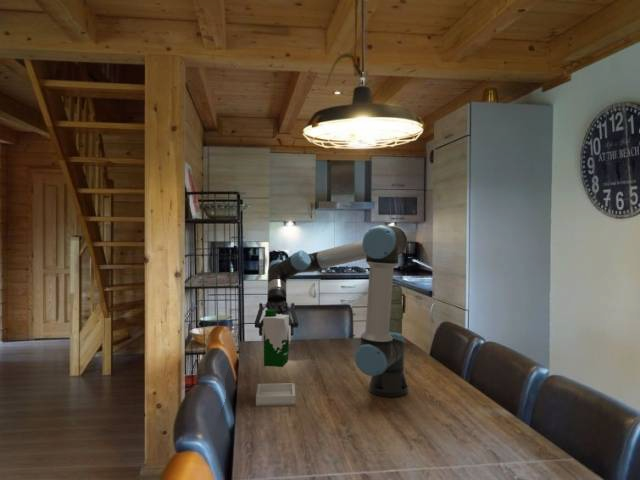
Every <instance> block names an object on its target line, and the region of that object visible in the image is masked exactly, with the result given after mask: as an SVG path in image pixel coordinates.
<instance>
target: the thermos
mask: <svg viewBox="0 0 640 480" xmlns="http://www.w3.org/2000/svg"><path fill="white" fill-rule="evenodd" d="M406 298H407V296H406V294H405V293H403V289H402V286H401V285H399V284H392V296H391V310H390V324H389V332H394V333H400V334H402V335H403V319H404V314H405V313H406V308H407V307H406V305H407V304H406V301H407V300H406Z"/></svg>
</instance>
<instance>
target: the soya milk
mask: <svg viewBox="0 0 640 480" xmlns="http://www.w3.org/2000/svg"><path fill="white" fill-rule="evenodd" d="M264 311H265V313H264V316H263V317H262V319H263V325H264V345H263V366H264V367H276V368H283V367H284V366H285V365H286V364H287V363H288V362H289V353H290V348H289V347H290V346H289V345H290V344H289V317H290V315H289V314H288V315H283V314H276V310H273V309H270V310H268V309H264Z"/></svg>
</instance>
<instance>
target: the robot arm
mask: <svg viewBox="0 0 640 480" xmlns="http://www.w3.org/2000/svg"><path fill="white" fill-rule="evenodd" d="M407 246H408V237H407V235H406V232H405V231H403V229H401V228H399V227H397V226H394V225H393V226H392V225H380V224H378V225H375V226H373V227H371V228H369V229H368V230H367V231H366V232H365V234H364V235H363V238H362V240H358V241H354V242H350V243H347V244H342V245H338V246H334V247H331V248H327V249H324V250H323V249H322V250H319V251H316V252H312V253H307V252H306V251H304V250H301V249H300V250H298V251H297V252H294V253H293V254H291V255H290V256H289V257H287V258H285V259H283V260H282V259H276V260H275V259H274V260H272V261H271V262H270V263H269V265H268V270H267V301H266V303H264V304H263V303H262V302H260V303H259V305H258V311H257V315H256V318H255V320H254V328H256V329H257V328H258V335H259V337H261V345H263V346H264V325H263V318H262V315H263V312H264V311H265V310H270V309H273V310H276V314H283V315H289V314H288V312H287V311H286V309H288V310H289V311H290V314H291V317H292V319H291V317H290V316H289V345H291V344H292V343H291V340H292V339H291V337H293V336H294V334H295V333H294V332H295V328H299V320H298V317H297V314H296V309H295V303H294V302H291V303H288V301H287V280H289V279H291V278H293V277H294V276H296V275H297V274H298V275H299V274H301V273H308V272H309V273H310V272H318V271H320V270H323V269H327V268H331V267H336V266H340V265H343V264H348V263H353V262H356V261H361V260H365V262H366V264H367V265H368V266H369V272H368V273H369V276H368V288H367V289H368V291H367V304H366V316H365V317H366V319H365V331H363V332H362V333H361V335H360V343H359V344H360V345H359V347H358V348H357V349H356V351H355V354H354V362H355V364H356V367H357V368H358V369H359V370H360V372H362V373H363V374H365V375H366V376H369V377H370V380H369V385H368V388H369V389H368V391H369V392H370V393H371V394H373V395H375V396H379V397H386V398H398V397H399V398H400V397H403V396H407V395H408V393H409V385H408V382H407V378H406V376H405V371H404V368H405V366H404V365H405V337H404V335H403V333H402V334H400V333H394V332H389V324H390V310H391V296H392V285H393V281H394V280H393V279H394V269H395V268H396V267H397V265H398V264H399V257H400V255H401V254H403V253H404V252H405V250H406V249H407Z"/></svg>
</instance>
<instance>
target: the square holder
mask: <svg viewBox="0 0 640 480" xmlns="http://www.w3.org/2000/svg"><path fill="white" fill-rule="evenodd" d="M295 388H296V387H295V382H293V383H291V382H290V383H289V382H287V383H285V382H283V383H257V388H256V392H255V393H256V394H255V407H279V406H280V407H281V406H282V407H284V406H288V407H289V406H296V389H295Z"/></svg>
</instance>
